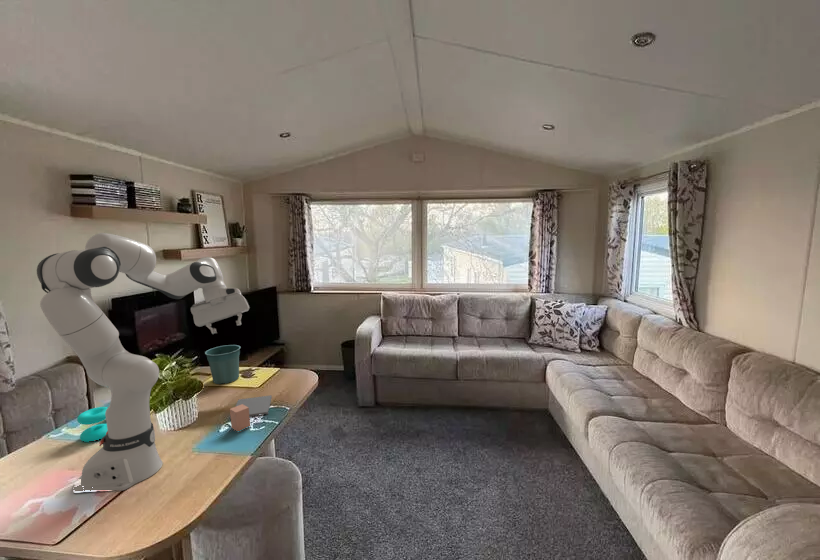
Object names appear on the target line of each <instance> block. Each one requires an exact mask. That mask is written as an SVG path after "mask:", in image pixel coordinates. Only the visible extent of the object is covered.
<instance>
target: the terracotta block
mask: <svg viewBox="0 0 820 560" xmlns="http://www.w3.org/2000/svg"><path fill="white" fill-rule="evenodd" d="M229 413H230V414H229V415H230V424H231V425H230V427H231V429H232V428H233V429H234V430H233V429H232V430H233V431H235V430H236V431H240V430H242V429H244V428H246V427H248V426H250V427H251V419H250V418H251V417H249V408H248V407H247V406H245V405H243V404H241V405H239V406H236V405H235V406H233V407H231V408H229ZM236 431H235V432H236ZM240 432H241V431H240Z"/></svg>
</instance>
